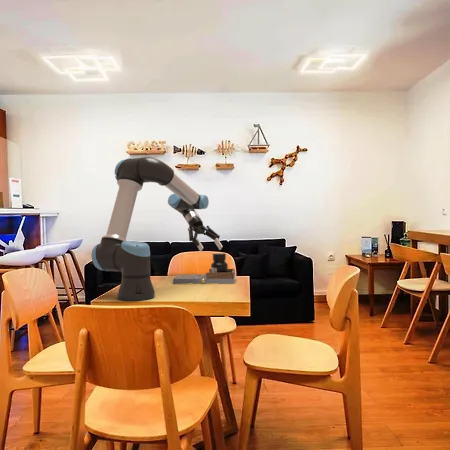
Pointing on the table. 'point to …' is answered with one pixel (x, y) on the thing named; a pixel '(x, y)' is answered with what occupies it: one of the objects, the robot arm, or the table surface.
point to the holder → (221, 275)
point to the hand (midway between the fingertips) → (211, 248)
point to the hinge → (200, 279)
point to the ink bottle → (219, 263)
